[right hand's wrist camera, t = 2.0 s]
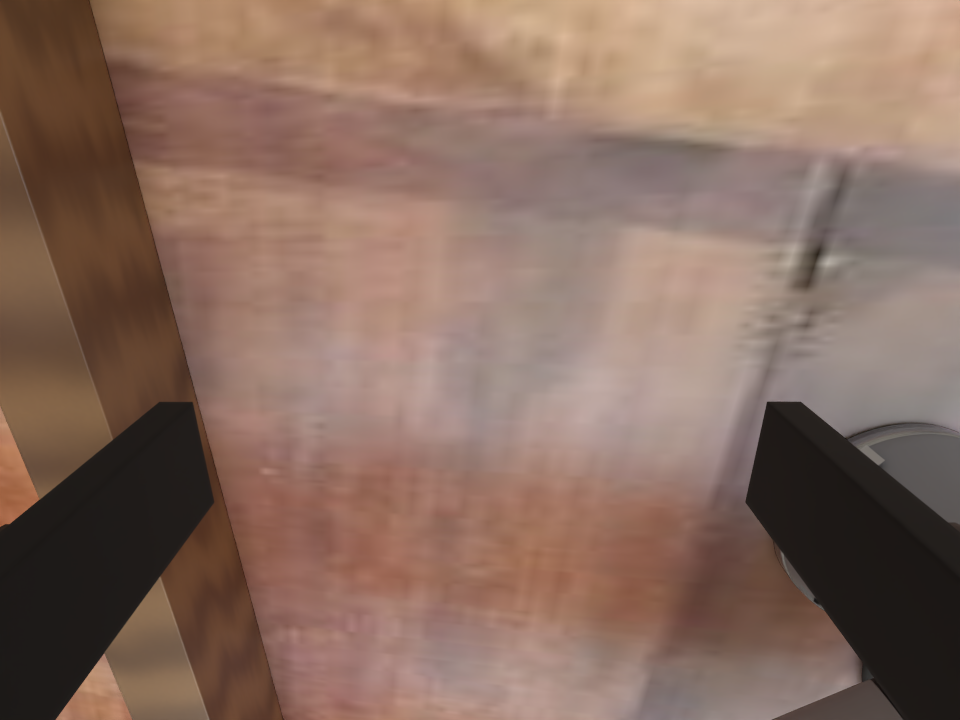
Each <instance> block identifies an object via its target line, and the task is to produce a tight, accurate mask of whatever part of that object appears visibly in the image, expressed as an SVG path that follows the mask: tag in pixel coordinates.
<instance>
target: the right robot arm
mask: <svg viewBox="0 0 960 720" xmlns="http://www.w3.org/2000/svg"><path fill="white" fill-rule="evenodd" d="M213 504H214V497H213V493H212V488H211V484H210V479H209V474H208V470H207V465H206V460H205V456H204V451H203V447H202V442H201V437H200V433H199V428H198V424H197V419H196V414H195V410H194V405H193V402H158V403H157V404H156V405H155V406H154V407H152V408H151V409H150V410H149V411H147V412H146V413H145V414H144V415H143V416H141V417H140V418H139V419H138V420H136V421H135V422H134V423H133V424H132V425H130V426H129V427H128V428H127V429H125V430H124V431H123V432H122V433H121V434H119V435H118V436H117V437H116V438H114V439H113V440H112V441H111V442H110V443H108V444H107V445H106V446H105V447H103V448H102V449H101V450H100V451H99V452H97V453H96V454H95V455H94V456H93V457H91V458H90V459H89V460H88V461H86V462H85V463H84V464H83V465H82V466H80V467H79V468H78V469H77V470H75V471H74V472H73V473H72V474H71V475H69V476H68V477H67V478H66V479H64V480H63V481H62V482H61V483H60V484H58V485H57V486H56V487H55V488H53V489H52V490H51V491H50V492H49V493H47V494H46V495H45V496H44V497H42V498H41V499H40V500H39V501H38V502H36V503H35V504H34V505H33V506H31V507H30V508H29V509H28V510H27V511H25V512H24V513H23V514H22V515H20V516H19V517H18V518H17V519H16V520H14V521H13V522H12V523H11V524H5V525H3V526H1V527H0V720H56V718H57V717H58V715H59V714H60V713H61V711H62V710H63V709H64V707H65V706H66V704H67V703H68V702H69V700H70V699H71V698H72V696H73V695H74V694H75V692H76V691H77V689H78V688H79V687H80V685H81V684H82V683H83V681H84V680H85V679H86V677H87V676H88V674H89V673H90V672H91V670H92V669H93V668H94V666H95V665H96V663H97V662H98V661H99V659H100V658H101V657H102V655H103V654H104V653H105V651H106V650H107V648H108V647H109V646H110V644H111V643H112V642H113V640H114V639H115V638H116V636H117V635H118V633H119V632H120V631H121V629H122V628H123V627H124V625H125V624H126V622H127V621H128V620H129V618H130V617H131V616H132V614H133V613H134V612H135V610H136V609H137V607H138V606H139V605H140V603H141V602H142V601H143V599H144V598H145V597H146V595H147V594H148V592H149V591H150V590H151V588H152V587H153V586H154V584H155V583H156V581H157V580H158V579H159V577H160V576H161V575H162V573H163V572H164V571H165V569H166V568H167V566H168V565H169V564H170V562H171V561H172V560H173V558H174V557H175V556H176V554H177V553H178V551H179V550H180V549H181V547H182V546H183V545H184V543H185V542H186V540H187V539H188V538H189V536H190V535H191V534H192V532H193V531H194V530H195V528H196V527H197V525H198V524H199V523H200V521H201V520H202V519H203V517H204V516H205V515H206V513H207V512H208V510H209V509H210V508H211V506H212V505H213ZM746 504H747V505H748V506H749V508H750V509H751V510H752V512H753V513H754V515H755V516H756V517H757V519H758V520H759V521H760V523H761V524H762V525H763V527H764V528H765V530H766V531H767V532H768V534H769V535H770V536H771V538H772V539H773V541H774V548H775V552H776V555H777V558H778V560H779V562H780V564H781V566H782V567H783V569H784V570H785V572H786V573H787V574H788V576H789V577H790V579H791V580H792V582H793V583H794V584H795V585H796V587H797V588H798V589H799V590H800V591H801V592H802V593H803V594H804V595H805V596H806V597H807V598H808V599H809V600H810V601H812V602H813V603H814V604H815V605H817V606H818V607H820V608H821V609H822V610H824V611H825V612H826V613H827V614H828V616H829V617H830V618H831V620H832V621H833V622H834V624H835V625H836V627H837V628H838V629H839V631H840V632H841V633H842V635H843V636H844V638H845V639H846V640H847V642H848V643H849V644H850V646H851V647H852V648H853V650H854V651H855V653H856V654H857V655H858V657H859V658H860V659H861V661H862V662H863V668H862V683H859V684H857V685H854V686H852V687H850V688H847V689H845V690H842V691H840V692H838V693H835V694H833V695H830V696H828V697H825V698H823V699H821V700H818V701H816V702H813V703H811V704H809V705H806V706H804V707H801V708H799V709H797V710H794V711H792V712H789V713H787V714H784V715H782V716H780V717H777V718H775V719H772V720H960V433H958V432H956V431H954V430H951V429H948V428H945V427H941V426H936V425H931V424H897V425H891V426H885V427H881V428H877V429H873V430H870V431H867V432H864V433H861V434H859V435H856V436H854V437H851V438H849V439H846V438H844V437H843V436H842V435H841V434H839V433H838V432H837V431H836V430H835V429H833V428H832V427H831V426H830V425H828V424H827V423H826V422H825V421H824V420H822V419H821V418H820V417H819V416H817V415H816V414H815V413H814V412H813V411H811V410H810V409H809V408H808V407H806V406H805V405H804V404H803V403H802V402H767V405H766V410H765V414H764V419H763V424H762V428H761V433H760V437H759V442H758V447H757V451H756V456H755V460H754V465H753V470H752V474H751V479H750V484H749V488H748V493H747V497H746ZM873 677H874V678H873Z"/></svg>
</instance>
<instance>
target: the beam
mask: <svg viewBox="0 0 960 720" xmlns="http://www.w3.org/2000/svg"><path fill="white" fill-rule="evenodd" d="M158 402H193V405H194V410H195V414H196V419H197V424H198V428H199V433H200V437H201V442H202V447H203V451H204V456H205V460H206V465H207V470H208V474H209V479H210V484H211V488H212V493H213V497H214V504H213V505H212V506H211V508H210V509H209V510H208V512H207V513H206V515H205V516H204V517H203V519H202V520H201V521H200V523H199V524H198V525H197V527H196V528H195V530H194V531H193V532H192V534H191V535H190V536H189V538H188V539H187V540H186V542H185V543H184V545H183V546H182V547H181V549H180V550H179V551H178V553H177V554H176V556H175V557H174V558H173V560H172V561H171V562H170V564H169V565H168V566H167V568H166V569H165V571H164V572H163V573H162V575H161V576H160V577H159V579H158V580H157V581H156V583H155V584H154V586H153V587H152V588H151V590H150V591H149V592H148V594H147V595H146V597H145V598H144V599H143V601H142V602H141V603H140V605H139V606H138V607H137V609H136V610H135V612H134V613H133V614H132V616H131V617H130V618H129V620H128V621H127V622H126V624H125V625H124V627H123V628H122V629H121V631H120V632H119V633H118V635H117V636H116V638H115V639H114V640H113V642H112V643H111V644H110V646H109V647H108V648H107V650H106V651H105V656H106V658H107V660H108V663H109V665H110V667H111V670H112V672H113V675H114V677H115V679H116V682H117V684H118V686H119V689H120V691H121V694H122V696H123V698H124V701H125V703H126V705H127V708H128V710H129V713H130V715H131V717H132V720H283V718H282V714H281V710H280V707H279V703H278V699H277V696H276V692H275V688H274V684H273V681H272V677H271V673H270V670H269V666H268V662H267V659H266V655H265V651H264V647H263V644H262V640H261V636H260V633H259V629H258V625H257V622H256V618H255V614H254V610H253V607H252V603H251V599H250V596H249V592H248V588H247V585H246V581H245V577H244V573H243V570H242V566H241V562H240V559H239V555H238V551H237V547H236V544H235V540H234V536H233V533H232V529H231V525H230V522H229V518H228V514H227V510H226V507H225V503H224V499H223V496H222V492H221V488H220V485H219V481H218V477H217V473H216V470H215V466H214V462H213V459H212V455H211V451H210V448H209V444H208V440H207V436H206V433H205V429H204V425H203V422H202V418H201V414H200V411H199V407H198V403H197V399H196V396H195V392H194V388H193V385H192V381H191V377H190V373H189V370H188V366H187V362H186V359H185V355H184V351H183V348H182V344H181V340H180V336H179V333H178V329H177V325H176V322H175V318H174V314H173V311H172V307H171V303H170V299H169V296H168V292H167V288H166V285H165V281H164V277H163V274H162V270H161V266H160V262H159V259H158V255H157V251H156V248H155V244H154V240H153V237H152V233H151V229H150V225H149V222H148V218H147V214H146V211H145V207H144V203H143V200H142V196H141V192H140V188H139V185H138V181H137V177H136V174H135V170H134V166H133V162H132V159H131V155H130V151H129V148H128V144H127V140H126V137H125V133H124V129H123V125H122V122H121V118H120V114H119V111H118V107H117V103H116V100H115V96H114V92H113V88H112V85H111V81H110V77H109V74H108V70H107V66H106V63H105V59H104V55H103V51H102V48H101V44H100V40H99V37H98V33H97V29H96V26H95V22H94V18H93V14H92V11H91V7H90V3H89V0H0V406H1V409H2V411H3V414H4V416H5V418H6V421H7V423H8V425H9V428H10V430H11V432H12V435H13V437H14V440H15V442H16V444H17V447H18V449H19V451H20V454H21V456H22V459H23V461H24V463H25V466H26V468H27V470H28V473H29V475H30V478H31V480H32V482H33V485H34V487H35V489H36V492H37V494H38V497H39V499H41V498H42V497H44V496H45V495H46V494H47V493H49V492H50V491H51V490H52V489H53V488H55V487H56V486H57V485H58V484H60V483H61V482H62V481H63V480H64V479H66V478H67V477H68V476H69V475H71V474H72V473H73V472H74V471H75V470H77V469H78V468H79V467H80V466H82V465H83V464H84V463H85V462H86V461H88V460H89V459H90V458H91V457H93V456H94V455H95V454H96V453H97V452H99V451H100V450H101V449H102V448H103V447H105V446H106V445H107V444H108V443H110V442H111V441H112V440H113V439H114V438H116V437H117V436H118V435H119V434H121V433H122V432H123V431H124V430H125V429H127V428H128V427H129V426H130V425H132V424H133V423H134V422H135V421H136V420H138V419H139V418H140V417H141V416H143V415H144V414H145V413H146V412H147V411H149V410H150V409H151V408H152V407H154V406H155V405H156V404H157V403H158Z"/></svg>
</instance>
